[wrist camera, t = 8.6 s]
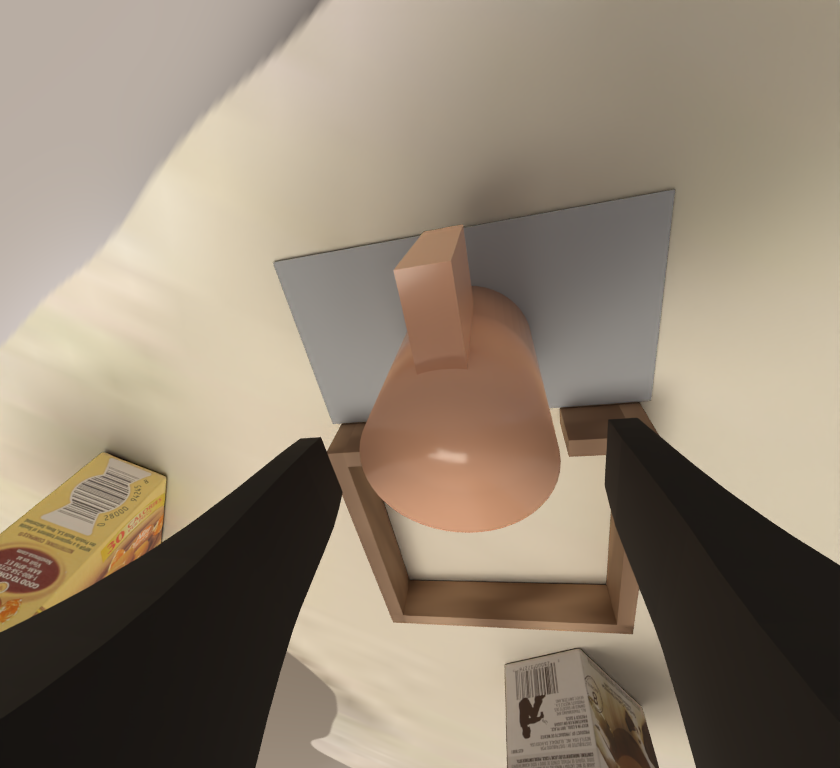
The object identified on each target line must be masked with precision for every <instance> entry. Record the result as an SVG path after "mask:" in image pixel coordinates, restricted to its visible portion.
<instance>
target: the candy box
mask: <svg viewBox="0 0 840 768" xmlns="http://www.w3.org/2000/svg"><path fill="white" fill-rule="evenodd" d="M165 491H166V476H163V475H161V474H158V473H156V472H153V471H151V470H148V469H146V468H143V467H140V466H138V465H135V464H132V463H130V462H127V461H125V460H122V459H120V458H117V457H115V456H112V455H110V454H108V453H104V452H103V453H101V454H99V455H98V456H97V457H96V458H94V459H93V460H92V461H91V462H90V463H88V464H87V465H86V466H84V467H83V468H82V469H81V470H79V471H78V472H77V473H76V474H74V475H73V476H72V477H71V478H70V479H68V480H67V481H66V482H65V483H63V484H62V485H61V486H60V487H58V488H57V489H56V490H55V491H53V492H52V493H51V494H50V495H48V496H47V497H46V498H45V499H43V500H42V501H41V502H39V503H38V504H37V505H35V506H34V507H33V508H32V509H31V510H29V511H28V512H27V513H26V514H25V515H23V516H22V517H21V518H20V519H18V520H17V521H16V522H15V523H13V524H12V525H11V526H10V527H8V528H7V529H6V530H5V531H3V532H2V533H1V534H0V632H2V631H4V630H6V629H8V628H10V627H12V626H14V625H16V624H18V623H20V622H22V621H25V620H26V619H28V618H30V617H32V616H34V615H36V614H38V613H40V612H42V611H44V610H46V609H48V608H50V607H52V606H54V605H56V604H58V603H60V602H62V601H63V600H65V599H67V598H69V597H71V596H73V595H75V594H77V593H78V592H80V591H82V590H84V589H86V588H88V587H89V586H91V585H93V584H95V583H96V582H98V581H100V580H101V579H103V578H105V577H107V576H108V575H110V574H112V573H113V572H115V571H117V570H118V569H120V568H122V567H124V566H125V565H127V564H129V563H130V562H132V561H134V560H136V559H137V558H139V557H141V556H142V555H144V554H145V553H147V552H148V551H150V550H152V549H153V548H155V547H156V546H158V545H159V544H161V532H162V525H163V513H164V502H165Z"/></svg>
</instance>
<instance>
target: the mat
mask: <svg viewBox="0 0 840 768" xmlns="http://www.w3.org/2000/svg"><path fill="white" fill-rule="evenodd" d="M674 195H675V189H673V190H667V191H662V192H656V193H651V194H645V195H640V196H634V197H629V198H623V199H618V200H612V201H607V202H601V203H596V204H590V205H585V206H579V207H574V208H568V209H563V210H557V211H552V212H546V213H541V214H535V215H530V216H524V217H519V218H513V219H508V220H502V221H497V222H491V223H486V224H480V225H475V226H469V227H464V235H465V242H466V250H467V257H468V265H469V272H470V280H471V286H479V287H485V288H488V289H492V290H495V291H497V292H499V293H501V294H503V295H504V296H506V297H507V298H509V299H510V300H511V301H513V302H514V303H515V304H516V305H517V306H518V307H519V309H520V310H521V311H522V313H523V314H524V316H525V317H526V319H527V322H528V324H529V327H530V330H531V334H532V338H533V343H534V347H535V351H536V355H537V359H538V363H539V367H540V372H541V376H542V380H543V384H544V388H545V392H546V397H547V401H548V405H549V408H559V407H573V406H586V405H600V404H614V403H627V402H641V401H651V397H652V388H653V379H654V371H655V362H656V353H657V344H658V336H659V327H660V318H661V309H662V300H663V292H664V283H665V274H666V265H667V257H668V248H669V239H670V230H671V221H672V213H673V204H674ZM420 236H421V235H419V236H414V237H408V238H403V239H397V240H392V241H386V242H381V243H375V244H370V245H364V246H359V247H353V248H348V249H342V250H337V251H331V252H326V253H320V254H315V255H309V256H304V257H298V258H293V259H287V260H282V261H276V262H273V264H274V267H275V270H276V272H277V275H278V278H279V280H280V283H281V286H282V289H283V291H284V294H285V297H286V299H287V302H288V305H289V307H290V310H291V313H292V315H293V318H294V321H295V324H296V326H297V329H298V332H299V334H300V337H301V340H302V342H303V345H304V348H305V350H306V353H307V356H308V359H309V361H310V364H311V367H312V369H313V372H314V375H315V377H316V380H317V383H318V385H319V388H320V391H321V394H322V396H323V399H324V402H325V404H326V407H327V410H328V412H329V415H330V418H331V420H332V423H333V424H341V423H355V422H367V420H368V418H369V415H370V413H371V411H372V409H373V406H374V404H375V402H376V400H377V397H378V395H379V393H380V391H381V388H382V386H383V384H384V382H385V379H386V377H387V375H388V373H389V370H390V368H391V366H392V364H393V362H394V359H395V357H396V355H397V353H398V350H399V348H400V346H401V344H402V341H403V339H404V337H405V335H406V332H407V328H406V324H405V319H404V315H403V310H402V306H401V302H400V297H399V293H398V288H397V284H396V280H395V275H394V271H393V270H394V269H395V267H396V266H397V265H398V264H399V262H400V261H401V260H402V259H403V257H404V256H405V255H406V254H407V252H408V251H409V250H410V248H411V247H412V246H413V245H414V243H415V242H416V241H417V240H418V238H419V237H420Z"/></svg>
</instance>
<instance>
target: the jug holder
mask: <svg viewBox="0 0 840 768" xmlns="http://www.w3.org/2000/svg"><path fill="white" fill-rule="evenodd" d="M623 418H639V419H640V420H641V421H642V422H643V423H645V424H646V425H647V426H648V427H649V428H651V429H652V430H653V431H654V432H655V433H657V431H656V429H655V428H654V426H653V424H652V423H651V421H650V419H649V418H648V416H647V414H646V413H645V411H644V409H643V408H642V406H641V404H640V403H639V402H636V403H622V404H608V405H595V406H581V407H567V408H560V424H561V428H562V432H563V436H564V439H565V443H566V447H567V451H568V455H569V457H573V456H594V455H606V450H607V431H608V419H623ZM365 424H366V422H362V423H348V424H341V426H340V428H339V430H338V432H337V434H336V436H335V438H334V439H333V441H332V443H331V445H330V447H329V449H328V451H327V454H328V456H329V459H330V461H331V464H332V466H333V469H334V471H335V474H336V476H337V479H338V481H339V484H340V486H341V489H342V491H343V493H342V496H343V498H344V501H345V503H346V506H347V508H348V511H349V513H350V516H351V518H352V521H353V523H354V526H355V528H356V531H357V533H358V536H359V538H360V541H361V543H362V546H363V548H364V551H365V553H366V556H367V558H368V561H369V563H370V566H371V568H372V571H373V573H374V576H375V578H376V581H377V583H378V586H379V588H380V591H381V593H382V596H383V598H384V601H385V603H386V606H387V608H388V611H389V613H390V615H391V618H392V620H393V622H396V623H417V624H437V625H457V626H478V627H498V628H518V629H539V630H559V631H580V632H600V633H620V634H633V629H634V621H635V614H636V606H637V599H638V591H639V586H638V583H637V581H636V578H635V576H634V573H633V571H632V568H631V566H630V563H629V561H628V558H627V555H626V553H625V550H624V548H623V545H622V542H621V540H620V537H619V535H618V532H617V529H616V527H615V523H614V520H613V516H612V512H611V520H610V535H609V551H608V566H607V581H606V585H590V584H548V583H505V582H462V581H419V580H409V577H408V574H407V571H406V568H405V565H404V562H403V559H402V556H401V553H400V550H399V547H398V544H397V541H396V538H395V535H394V532H393V529H392V526H391V523H390V520H389V517H388V514H387V511H386V508H385V505H384V502H383V500H382V499H381V498H380V497H379V496H378V494H377V493H376V492H375V491H374V489H373V488H372V487H371V485H370V483H369V482H368V480H367V478H366V476H365V473H364V471H363V468H362V464H361V461H360V440H361V435H362V431H363V429H364V427H365ZM657 434H658V433H657ZM658 435H659V434H658Z"/></svg>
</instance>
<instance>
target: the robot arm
mask: <svg viewBox="0 0 840 768" xmlns="http://www.w3.org/2000/svg"><path fill="white" fill-rule="evenodd" d="M605 488H606V492H607V496H608V500H609V504H610V508H611V512H612V516H613V520H614V523H615V527H616V529H617V532H618V535H619V537H620V540H621V542H622V545H623V548H624V550H625V553H626V555H627V558H628V561H629V563H630V566H631V568H632V571H633V573H634V576H635V578H636V581H637V583H638V586H639V589H640V591H641V594H642V596H643V599H644V601H645V604H646V606H647V609H648V611H649V614H650V617H651V619H652V622H653V624H654V627H655V630H656V633H657V635H658V638H659V641H660V644H661V647H662V650H663V653H664V656H665V660H666V663H667V667H668V670H669V673H670V677H671V680H672V684H673V687H674V691H675V694H676V697H677V701H678V704H679V708H680V711H681V715H682V718H683V722H684V726H685V729H686V733H687V736H688V740H689V744H690V747H691V751H692V754H693V758H694V761H695V765H696V768H840V565H838V564H837V563H835V562H834V561H832V560H830V559H829V558H827V557H826V556H824V555H822V554H821V553H819V552H818V551H816V550H814V549H813V548H811V547H810V546H808V545H806V544H805V543H803V542H802V541H800V540H798V539H797V538H795V537H794V536H792V535H791V534H789V533H788V532H786V531H785V530H783V529H781V528H780V527H778V526H777V525H775V524H774V523H772V522H771V521H770V520H768V519H767V518H765V517H764V516H762V515H761V514H760V513H758V512H757V511H755V510H754V509H752V508H751V507H750V506H748V505H747V504H745V503H744V502H743V501H741V500H740V499H738V498H737V497H735V496H734V495H733V494H731V493H730V492H729V491H727V490H726V489H725V488H723V487H722V486H721V485H719V484H718V483H717V482H716V481H714V480H713V479H712V478H710V477H709V476H708V475H707V474H705V473H704V472H703V471H701V470H700V469H699V468H698V467H696V466H695V465H694V464H693V463H691V462H690V461H689V460H688V459H686V458H685V457H684V456H683V455H682V454H680V453H679V452H678V451H677V450H676V449H674V448H673V447H672V446H671V445H670V444H668V443H667V442H666V441H665V440H664V439H662V438H661V437H660V436H659V435H658V434H657V433H655V432H654V431H653V430H652V429H651V428H649V427H648V426H647V425H646V424H645V423H643V422H642V421H641V420H640V419H639V418H623V419H608V431H607V450H606V469H605ZM342 493H343V491H342V489H341V486H340V484H339V481H338V479H337V476H336V474H335V471H334V469H333V466H332V464H331V461H330V459H329V456H328V454H327V451H326V449H325V446H324V444H323V441H322V439H321V437H318V438H302V439H299V440H298V441H297V442H295V443H294V444H292V445H291V446H290V447H288V448H287V449H286V450H284V451H283V452H282V453H280V454H279V455H278V456H277V457H275V458H274V459H273V460H272V461H270V462H269V463H268V464H267V465H265V466H264V467H263V468H262V469H260V470H259V471H258V472H257V473H255V474H254V475H253V476H252V477H250V478H249V479H248V480H247V481H246V482H244V483H243V484H242V485H241V486H239V487H238V488H237V489H236V490H234V491H233V492H232V493H230V494H229V495H228V496H226V497H225V498H224V499H222V500H221V501H220V502H218V503H217V504H216V505H214V506H213V507H212V508H210V509H209V510H208V511H206V512H205V513H204V514H202V515H201V516H200V517H198V518H197V519H196V520H194V521H193V522H192V523H190V524H189V525H187V526H186V527H185V528H183V529H182V530H180V531H179V532H177V533H176V534H174V535H173V536H171V537H170V538H168V539H167V540H165V541H164V542H162V543H161V544H159V545H158V546H156V547H155V548H153V549H152V550H150V551H148V552H147V553H145V554H144V555H142V556H141V557H139V558H137V559H136V560H134V561H132V562H130V563H129V564H127V565H125V566H124V567H122V568H120V569H118V570H117V571H115V572H113V573H112V574H110V575H108V576H107V577H105V578H103V579H101V580H100V581H98V582H96V583H95V584H93V585H91V586H89V587H88V588H86V589H84V590H82V591H80V592H78V593H77V594H75V595H73V596H71V597H69V598H67V599H65V600H63V601H62V602H60V603H58V604H56V605H54V606H52V607H50V608H48V609H46V610H44V611H42V612H40V613H38V614H36V615H34V616H32V617H30V618H28V619H26V620H25V621H22V622H20V623H18V624H16V625H14V626H12V627H10V628H8V629H6V630H4V631H2V632H0V768H255V767H256V763H257V759H258V754H259V751H260V746H261V742H262V738H263V734H264V730H265V726H266V722H267V718H268V714H269V710H270V707H271V704H272V700H273V696H274V692H275V689H276V685H277V682H278V678H279V675H280V671H281V668H282V664H283V661H284V658H285V654H286V651H287V648H288V645H289V641H290V638H291V635H292V632H293V628H294V626H295V623H296V620H297V617H298V615H299V612H300V609H301V607H302V604H303V602H304V599H305V597H306V595H307V592H308V590H309V587H310V585H311V582H312V580H313V577H314V575H315V573H316V570H317V568H318V565H319V563H320V560H321V558H322V556H323V553H324V551H325V548H326V546H327V543H328V541H329V538H330V536H331V533H332V530H333V528H334V524H335V521H336V517H337V514H338V510H339V506H340V501H341V497H342Z"/></svg>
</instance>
